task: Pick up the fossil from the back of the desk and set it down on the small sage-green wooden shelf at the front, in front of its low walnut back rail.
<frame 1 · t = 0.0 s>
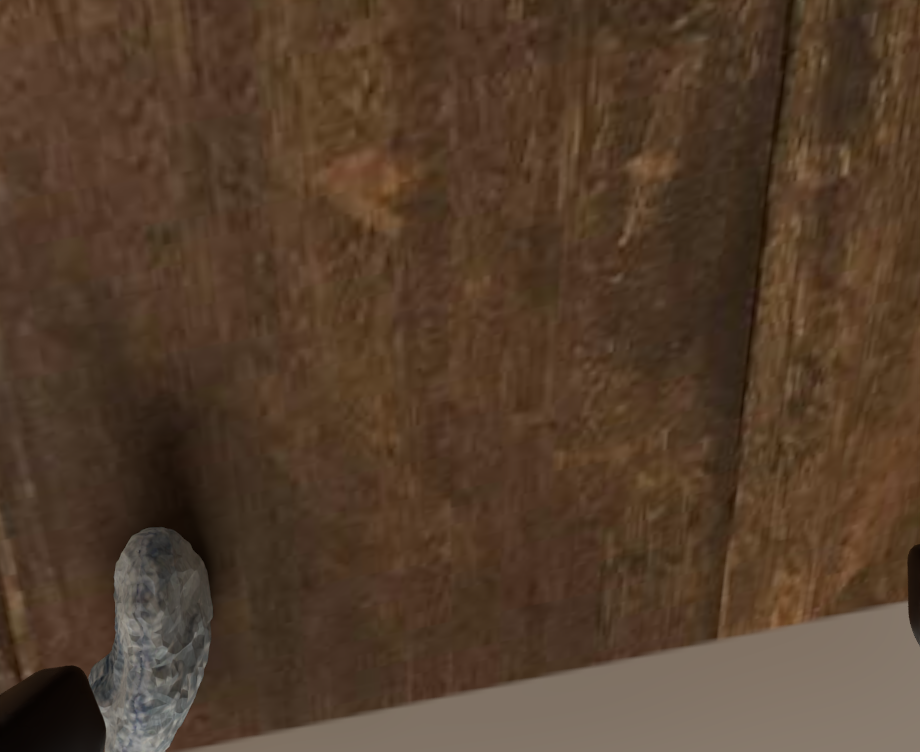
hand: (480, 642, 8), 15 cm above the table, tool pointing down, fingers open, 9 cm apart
fossil: (181, 600, 26), on the table
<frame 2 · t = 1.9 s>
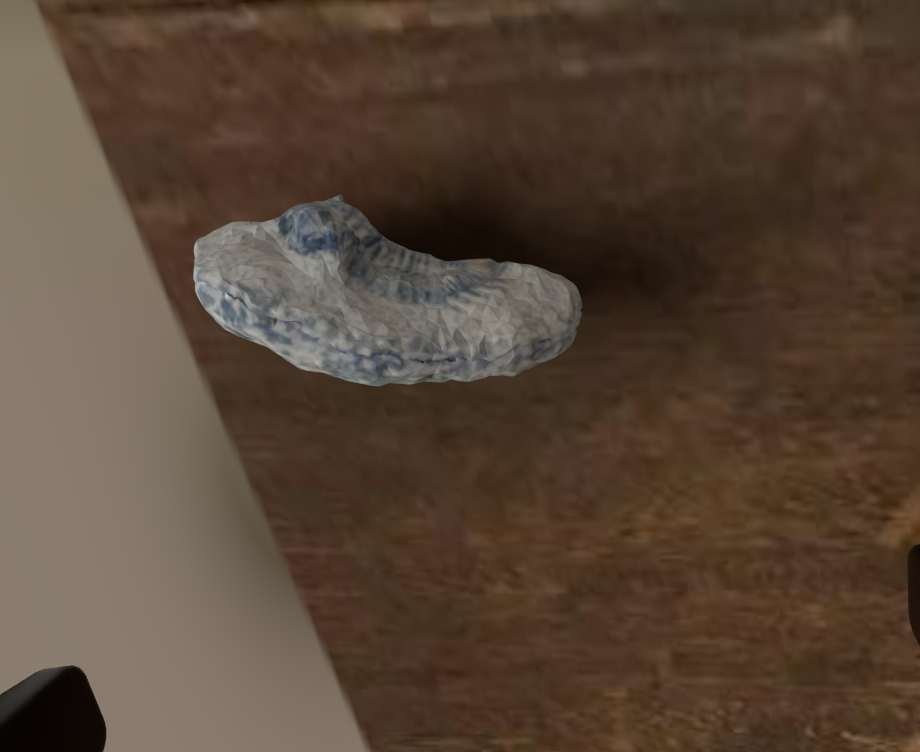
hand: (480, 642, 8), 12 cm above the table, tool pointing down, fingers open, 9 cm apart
fossil: (402, 269, 19), on the table
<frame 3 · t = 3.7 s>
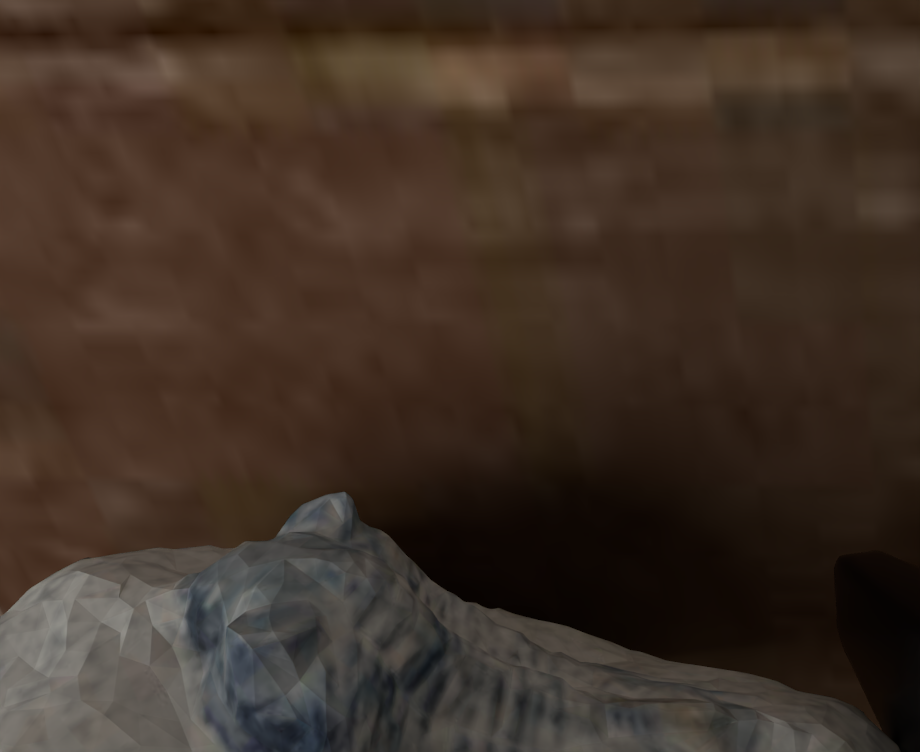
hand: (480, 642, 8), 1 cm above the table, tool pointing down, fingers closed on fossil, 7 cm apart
fossil: (463, 576, 9), on the table, touching gripper
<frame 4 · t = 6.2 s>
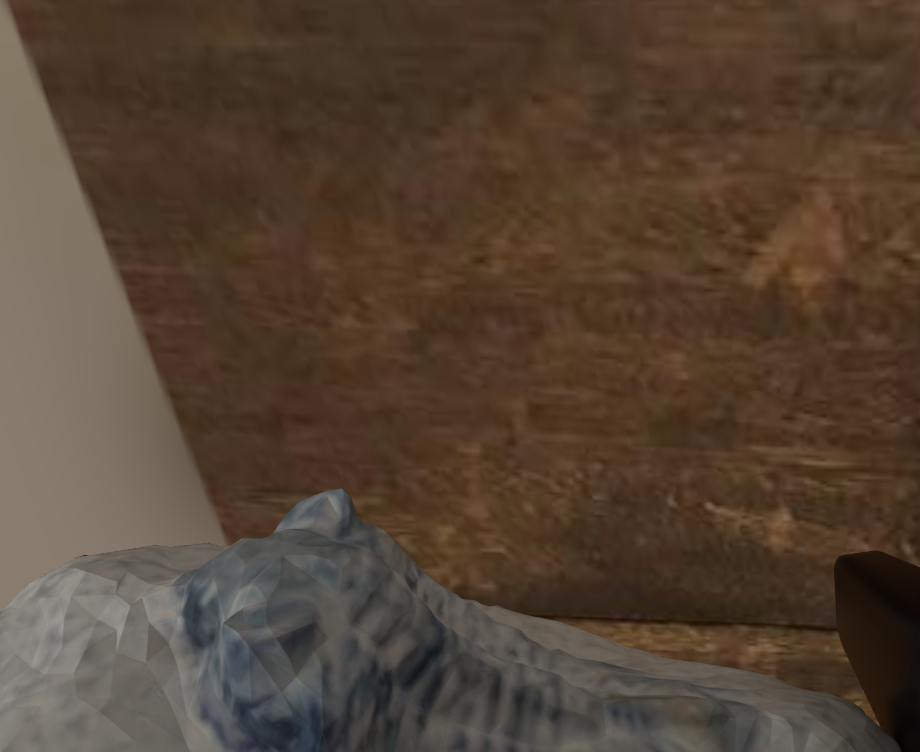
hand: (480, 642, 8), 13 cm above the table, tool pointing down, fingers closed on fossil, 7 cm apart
fossil: (461, 574, 9), point 11 cm above the table, touching gripper
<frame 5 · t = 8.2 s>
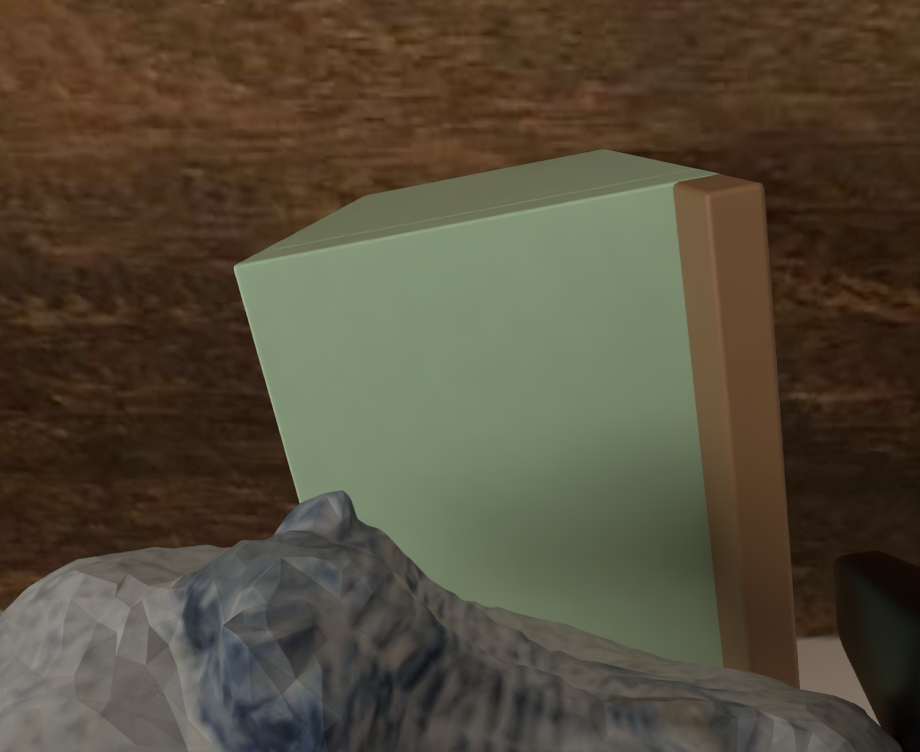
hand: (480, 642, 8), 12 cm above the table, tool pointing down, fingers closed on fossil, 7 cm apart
shelf: (512, 340, 20), on the table
fossil: (462, 575, 9), point 11 cm above the table, touching gripper
when the fingers open (12 cm above the table, at t = 8.9 s): fossil stays where it is, resting on shelf.
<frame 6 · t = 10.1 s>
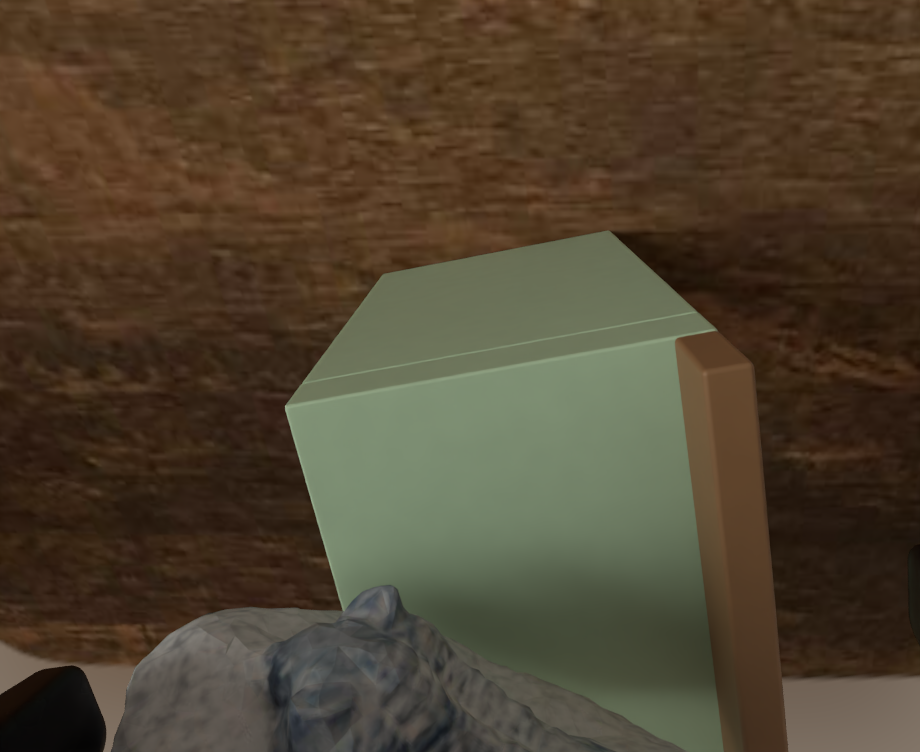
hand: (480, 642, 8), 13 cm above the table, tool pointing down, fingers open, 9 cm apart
shelf: (522, 405, 21), on the table
fossil: (501, 640, 11), point 10 cm above the table, touching shelf
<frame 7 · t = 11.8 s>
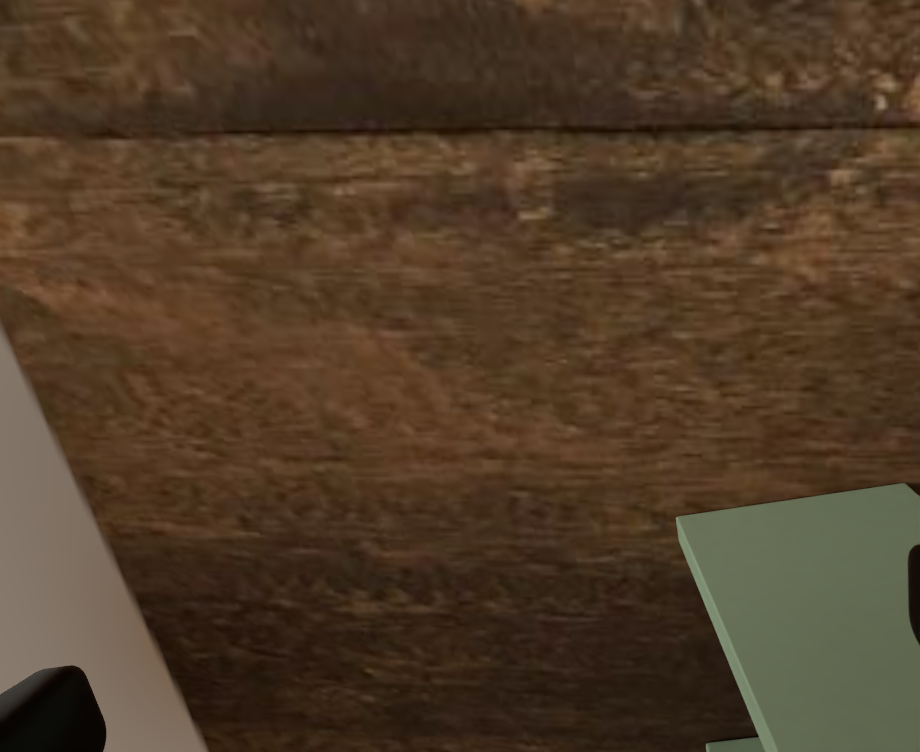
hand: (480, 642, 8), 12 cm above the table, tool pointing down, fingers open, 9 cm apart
shelf: (798, 632, 22), on the table
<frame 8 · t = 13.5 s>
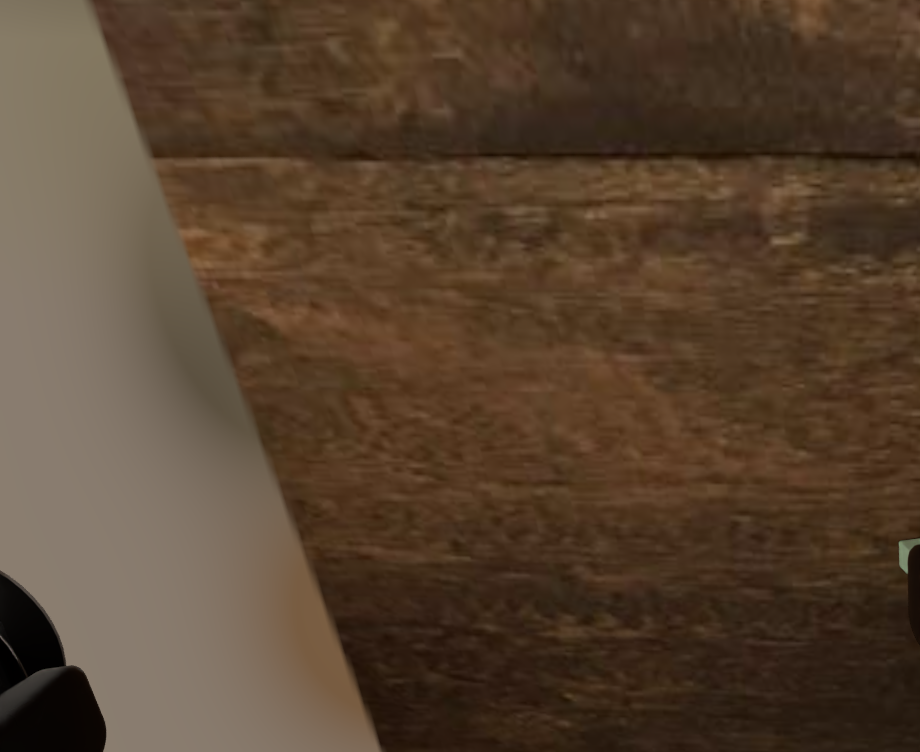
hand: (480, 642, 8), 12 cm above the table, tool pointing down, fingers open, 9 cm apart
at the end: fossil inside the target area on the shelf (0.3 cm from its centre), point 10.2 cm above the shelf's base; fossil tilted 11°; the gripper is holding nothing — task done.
